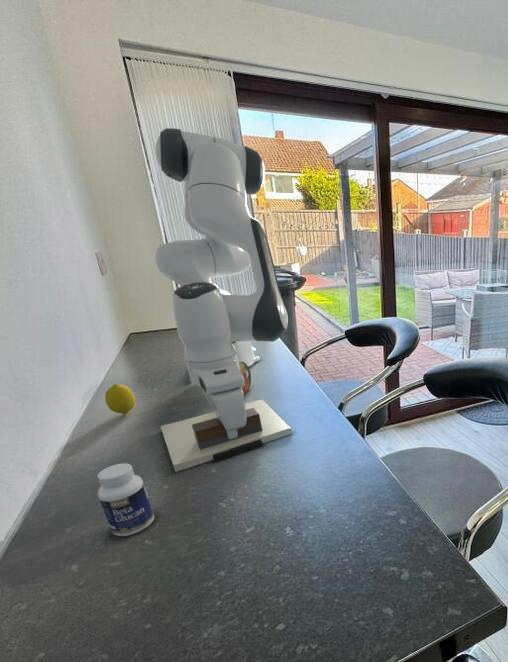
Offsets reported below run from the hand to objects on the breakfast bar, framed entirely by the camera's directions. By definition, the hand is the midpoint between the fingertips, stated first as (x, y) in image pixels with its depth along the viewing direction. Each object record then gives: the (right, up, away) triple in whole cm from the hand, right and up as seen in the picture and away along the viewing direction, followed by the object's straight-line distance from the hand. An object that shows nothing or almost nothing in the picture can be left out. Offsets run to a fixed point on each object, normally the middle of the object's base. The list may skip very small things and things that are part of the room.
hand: (229, 432), depth 82 cm
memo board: (-3, -1, +5) cm, 6 cm away
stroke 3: (+5, -2, -1) cm, 6 cm away
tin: (-10, +6, +24) cm, 26 cm away
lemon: (-33, +2, +15) cm, 36 cm away
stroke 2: (+3, -3, -3) cm, 5 cm away
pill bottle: (-4, -11, -22) cm, 25 cm away
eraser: (0, -1, 0) cm, 1 cm away
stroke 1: (+1, -4, -5) cm, 6 cm away
